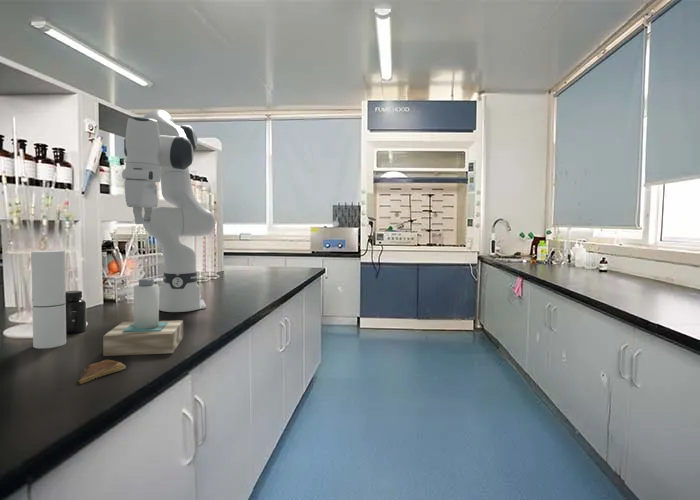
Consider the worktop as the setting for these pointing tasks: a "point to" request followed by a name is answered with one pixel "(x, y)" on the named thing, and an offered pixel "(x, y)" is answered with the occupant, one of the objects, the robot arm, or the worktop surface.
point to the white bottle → (146, 304)
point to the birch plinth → (143, 339)
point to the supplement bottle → (75, 312)
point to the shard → (100, 370)
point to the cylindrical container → (48, 298)
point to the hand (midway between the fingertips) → (143, 223)
